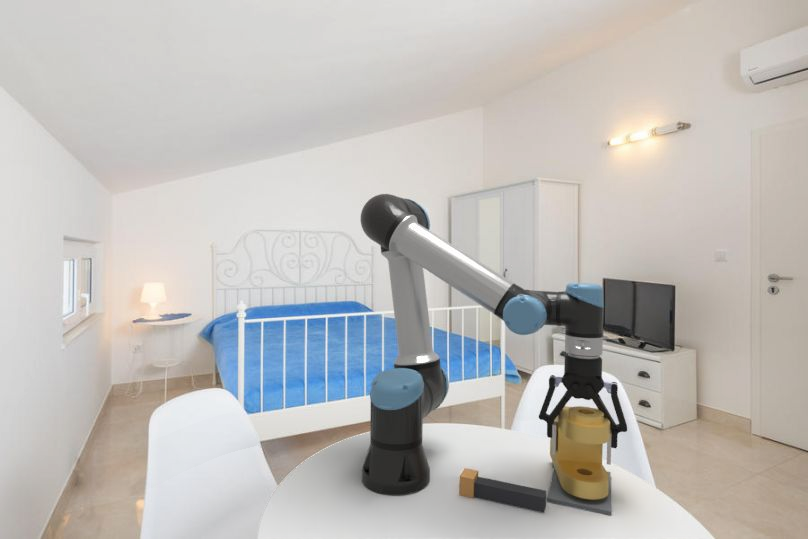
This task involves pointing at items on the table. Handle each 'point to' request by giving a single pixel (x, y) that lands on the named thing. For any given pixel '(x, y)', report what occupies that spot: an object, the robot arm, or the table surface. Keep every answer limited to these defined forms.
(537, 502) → the dark grey bar
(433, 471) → the table surface
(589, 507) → the mat
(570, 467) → the gold clevis bracket
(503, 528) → the table surface
